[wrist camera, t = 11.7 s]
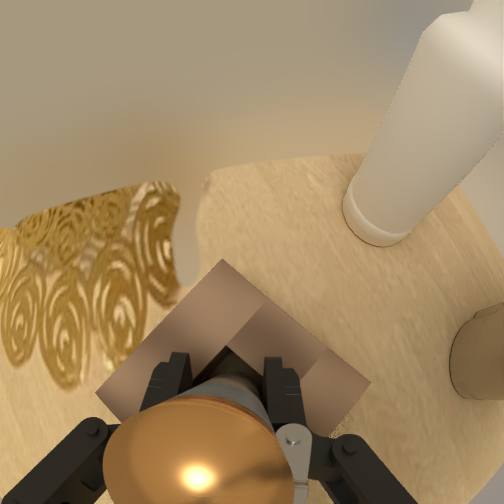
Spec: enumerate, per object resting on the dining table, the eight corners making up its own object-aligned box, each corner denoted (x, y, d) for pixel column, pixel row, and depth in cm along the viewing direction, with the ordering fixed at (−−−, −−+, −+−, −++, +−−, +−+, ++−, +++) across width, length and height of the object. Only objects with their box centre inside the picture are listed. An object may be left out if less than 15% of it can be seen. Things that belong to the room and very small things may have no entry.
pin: (229, 361, 18) (181, 362, 4) (268, 393, 17) (334, 480, 4) (196, 396, 17) (73, 470, 3) (234, 428, 16) (209, 573, 3)
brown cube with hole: (229, 289, 25) (222, 258, 18) (333, 377, 22) (371, 382, 15) (138, 385, 22) (95, 392, 14) (241, 474, 19) (240, 517, 11)
